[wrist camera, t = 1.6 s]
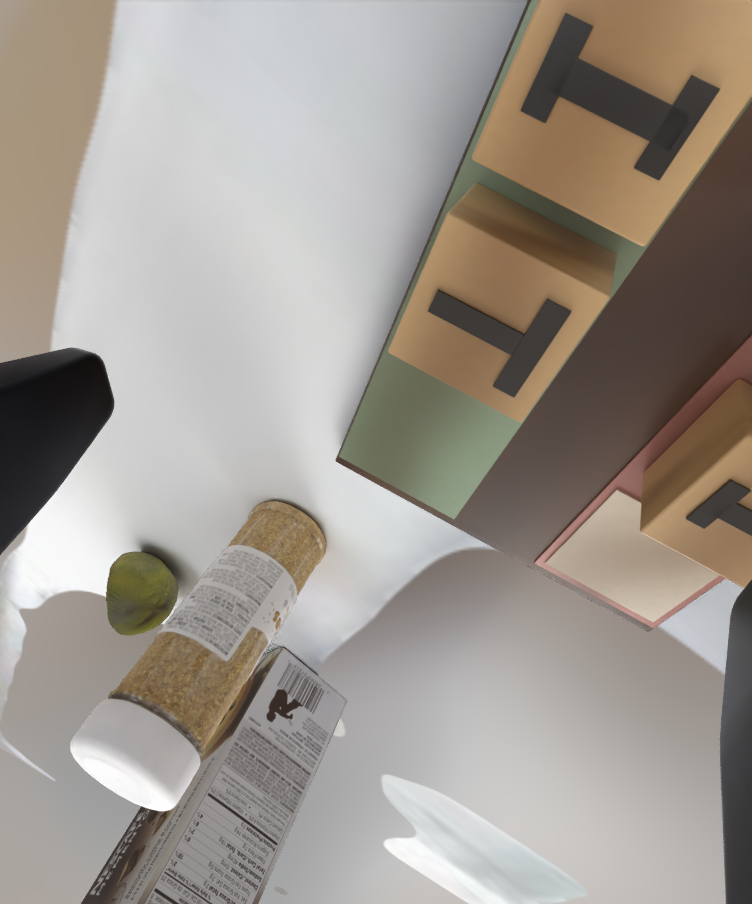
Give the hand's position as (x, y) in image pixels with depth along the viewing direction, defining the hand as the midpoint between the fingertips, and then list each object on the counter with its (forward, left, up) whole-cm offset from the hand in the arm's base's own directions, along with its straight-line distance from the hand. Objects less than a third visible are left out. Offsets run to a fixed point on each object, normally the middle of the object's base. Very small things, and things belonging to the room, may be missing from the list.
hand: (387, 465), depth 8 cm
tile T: (0, +2, -12) cm, 12 cm away
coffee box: (0, +37, -13) cm, 39 cm away
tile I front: (0, -3, -12) cm, 13 cm away
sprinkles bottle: (+3, +20, -13) cm, 24 cm away
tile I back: (-10, +4, -12) cm, 16 cm away
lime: (+10, +30, -13) cm, 34 cm away
